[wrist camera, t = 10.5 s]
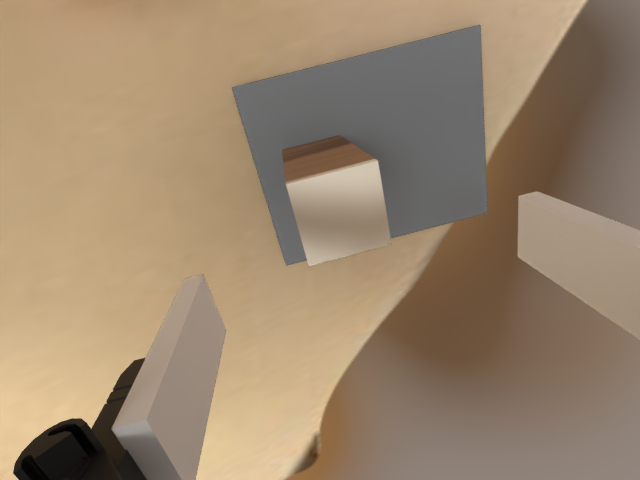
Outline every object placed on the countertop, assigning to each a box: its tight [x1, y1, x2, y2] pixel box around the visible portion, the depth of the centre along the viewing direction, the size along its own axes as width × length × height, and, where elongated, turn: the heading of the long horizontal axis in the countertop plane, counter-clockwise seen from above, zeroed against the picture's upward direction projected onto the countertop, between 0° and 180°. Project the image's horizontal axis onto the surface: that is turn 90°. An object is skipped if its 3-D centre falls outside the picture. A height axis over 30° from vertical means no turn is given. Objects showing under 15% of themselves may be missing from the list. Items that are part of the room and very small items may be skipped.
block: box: [282, 135, 392, 266], centre depth 25 cm, size 5×5×12 cm
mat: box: [232, 25, 487, 266], centre depth 31 cm, size 16×20×1 cm
